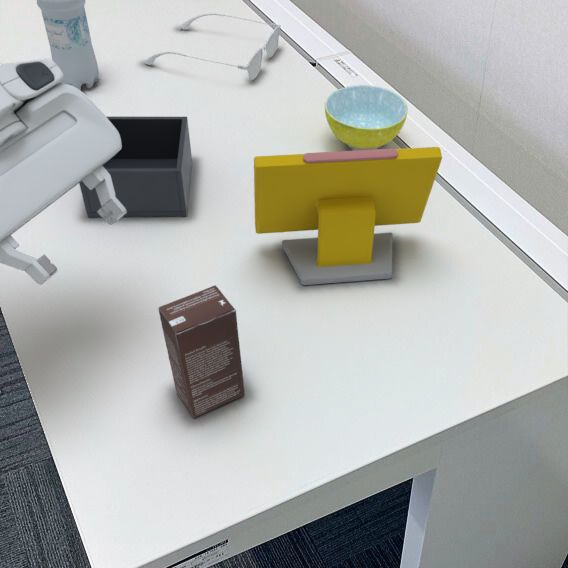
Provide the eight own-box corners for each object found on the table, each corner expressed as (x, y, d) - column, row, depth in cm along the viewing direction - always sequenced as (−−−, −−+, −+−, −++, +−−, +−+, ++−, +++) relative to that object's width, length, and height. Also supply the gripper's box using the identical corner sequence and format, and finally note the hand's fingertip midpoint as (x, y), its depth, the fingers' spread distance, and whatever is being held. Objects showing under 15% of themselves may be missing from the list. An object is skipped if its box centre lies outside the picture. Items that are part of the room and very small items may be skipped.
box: (225, 367, 80) (216, 282, 72) (246, 396, 78) (239, 311, 69) (171, 390, 78) (155, 305, 69) (191, 421, 75) (177, 336, 67)
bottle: (46, 84, 117) (11, -56, 102) (81, 67, 121) (51, -70, 106) (77, 99, 114) (45, -43, 100) (111, 81, 118) (85, -57, 103)
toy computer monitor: (414, 234, 97) (431, 122, 85) (429, 276, 92) (449, 163, 80) (255, 245, 94) (250, 131, 82) (261, 289, 89) (256, 174, 77)
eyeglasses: (248, 88, 119) (247, 64, 116) (141, 67, 122) (137, 42, 119) (282, 45, 129) (282, 21, 126) (182, 26, 132) (180, 2, 129)
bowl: (343, 174, 105) (345, 134, 100) (311, 131, 112) (312, 92, 107) (416, 158, 108) (422, 119, 104) (381, 117, 115) (385, 79, 111)
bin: (87, 217, 96) (76, 171, 91) (100, 161, 104) (90, 116, 99) (187, 216, 97) (181, 170, 92) (192, 161, 105) (187, 116, 100)
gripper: (-127, 164, 55) (15, 308, 60) (64, 51, 68) (170, 177, 73) (-146, 196, 60) (-13, 329, 64) (37, 84, 73) (138, 201, 77)
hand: (85, 247), depth 69 cm, fingers open, 8 cm apart
